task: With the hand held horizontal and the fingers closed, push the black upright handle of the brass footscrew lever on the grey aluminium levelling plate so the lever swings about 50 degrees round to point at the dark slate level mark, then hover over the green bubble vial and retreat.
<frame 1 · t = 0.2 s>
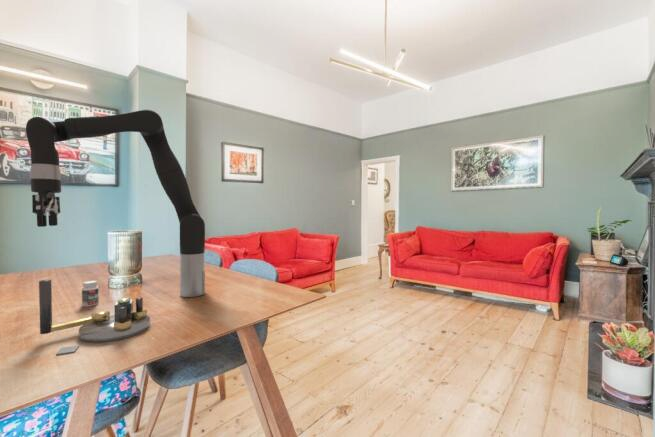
hand: (47, 226, 102), 29 cm above the table, tool pointing down, fingers open, 8 cm apart
footscrew lever: (76, 300, 85), point 9 cm above the table, hinge at 0.0°
tribrach plate: (116, 329, 88), on the table
level mark: (68, 350, 75), on the table
pill bottle: (90, 305, 109), on the table
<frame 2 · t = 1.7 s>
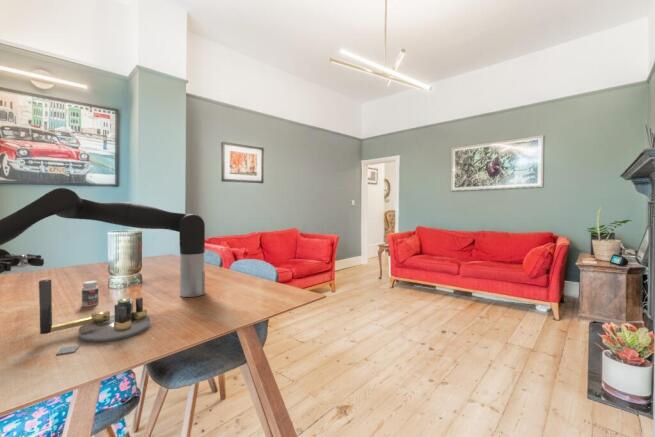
hand: (26, 264, 81), 20 cm above the table, tool horizontal, fingers open, 6 cm apart
nothing on the table moved.
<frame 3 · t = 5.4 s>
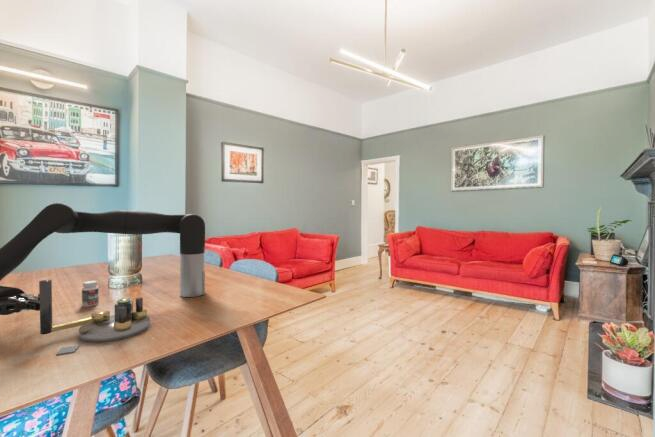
hand: (42, 306, 80), 9 cm above the table, tool horizontal, fingers closed
footscrew lever: (77, 301, 85), point 9 cm above the table, hinge at 1.7°, touching gripper
everything else where it was.
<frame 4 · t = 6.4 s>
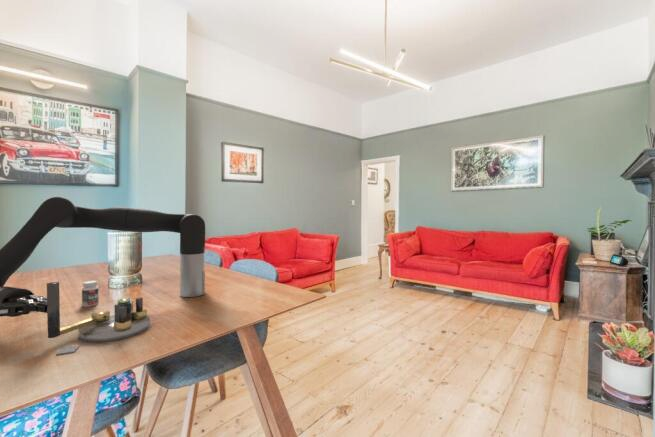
hand: (51, 308, 79), 9 cm above the table, tool horizontal, fingers closed
footscrew lever: (80, 302, 84), point 9 cm above the table, hinge at 22.5°, touching gripper
everything else where it was.
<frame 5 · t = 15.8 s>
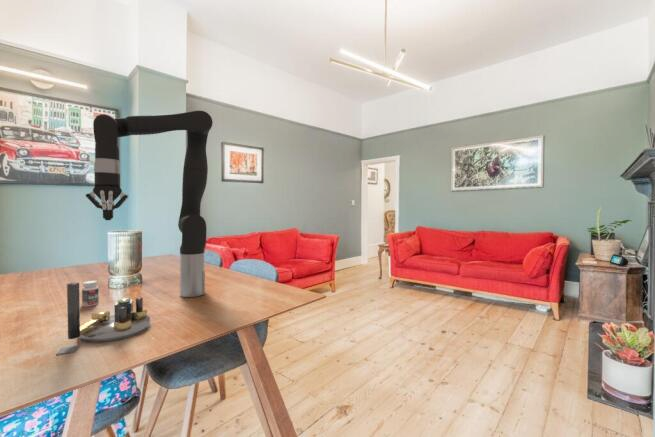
hand: (108, 220, 109), 31 cm above the table, tool pointing down, fingers closed
footscrew lever: (89, 302, 84), point 9 cm above the table, hinge at 49.2°
everything else where it was.
at the end: footscrew lever at +49° (first picture: +0°) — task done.
